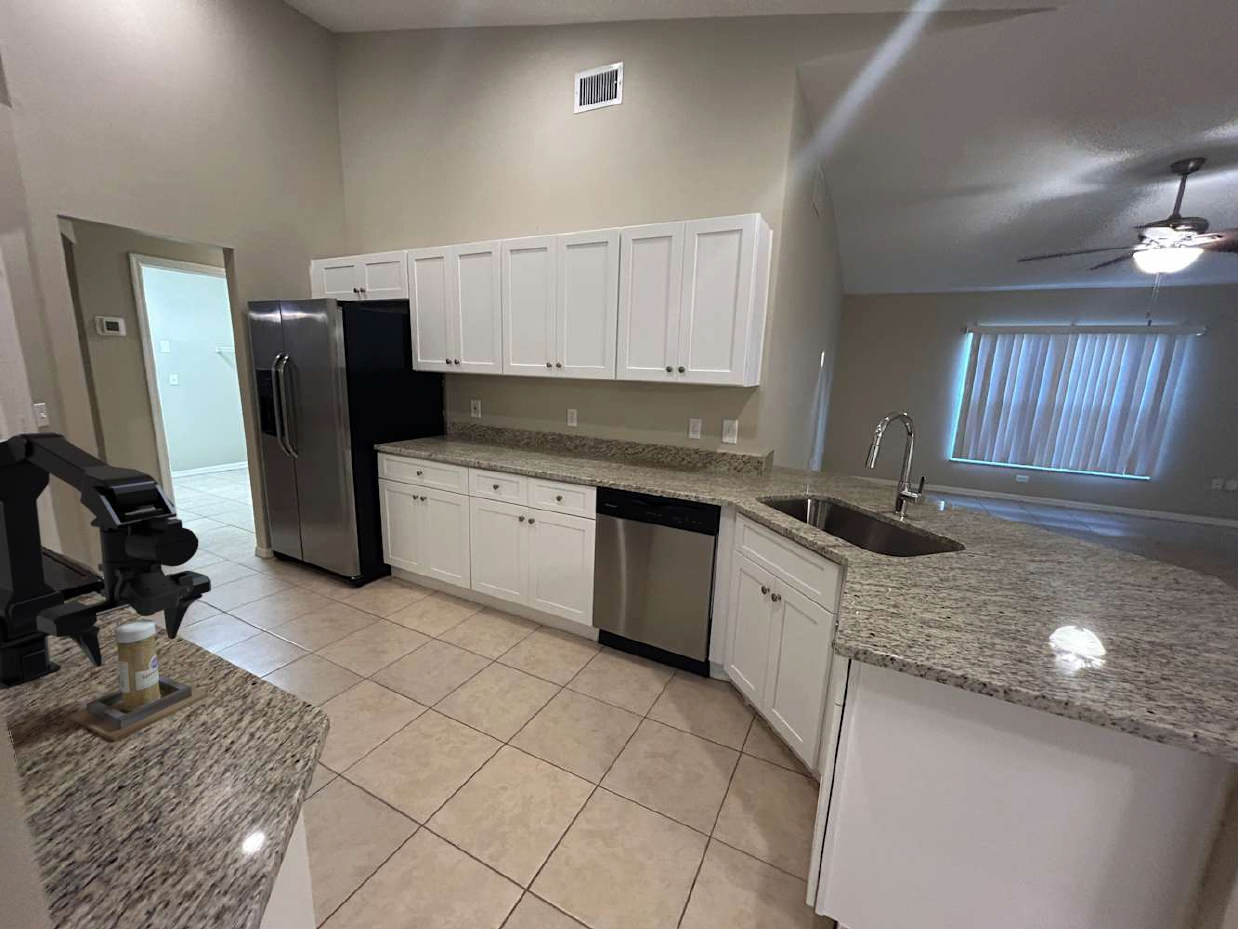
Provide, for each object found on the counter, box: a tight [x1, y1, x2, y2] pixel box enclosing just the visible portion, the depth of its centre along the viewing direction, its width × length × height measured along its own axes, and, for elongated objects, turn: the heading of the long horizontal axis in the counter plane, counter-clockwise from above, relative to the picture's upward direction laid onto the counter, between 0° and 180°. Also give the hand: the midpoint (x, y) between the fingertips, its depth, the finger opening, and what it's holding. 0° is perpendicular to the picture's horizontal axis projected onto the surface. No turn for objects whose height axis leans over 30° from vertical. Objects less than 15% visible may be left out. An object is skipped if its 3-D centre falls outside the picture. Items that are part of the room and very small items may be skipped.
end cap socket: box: [68, 674, 209, 743], centre depth 79 cm, size 12×12×2 cm
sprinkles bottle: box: [113, 618, 161, 711], centre depth 78 cm, size 5×5×14 cm
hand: (136, 651), depth 77 cm, fingers open, 9 cm apart
